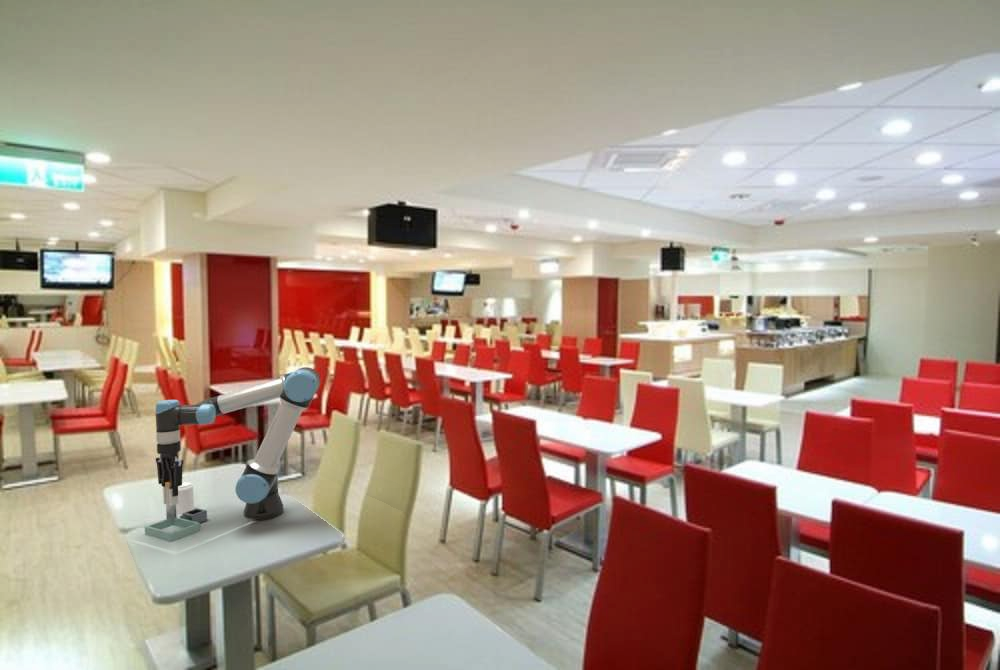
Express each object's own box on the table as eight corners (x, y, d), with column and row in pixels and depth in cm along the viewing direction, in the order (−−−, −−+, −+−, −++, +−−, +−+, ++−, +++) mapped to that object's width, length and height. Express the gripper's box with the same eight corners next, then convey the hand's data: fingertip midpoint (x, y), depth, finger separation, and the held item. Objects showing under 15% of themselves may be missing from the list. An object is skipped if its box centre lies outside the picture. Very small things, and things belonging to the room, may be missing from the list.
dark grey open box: (211, 522, 214) (210, 509, 214) (191, 529, 207) (191, 516, 206) (192, 517, 219) (191, 505, 219) (172, 524, 212) (171, 512, 212)
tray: (200, 532, 203) (200, 523, 203) (171, 544, 194) (171, 533, 194) (174, 526, 211) (173, 516, 211) (145, 536, 201) (144, 526, 201)
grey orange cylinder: (178, 517, 203) (177, 480, 202) (169, 520, 200) (168, 483, 199) (173, 516, 204) (171, 479, 203) (164, 518, 201) (163, 482, 201)
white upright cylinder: (198, 509, 229) (197, 481, 228) (185, 516, 221) (184, 487, 220) (180, 508, 230) (179, 481, 229) (167, 516, 221) (165, 487, 221)
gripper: (192, 441, 200) (194, 503, 201) (165, 437, 208) (167, 497, 209) (172, 446, 194) (174, 510, 195) (145, 441, 201) (147, 503, 202)
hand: (171, 503), depth 202 cm, fingers closed on grey orange cylinder, 3 cm apart
